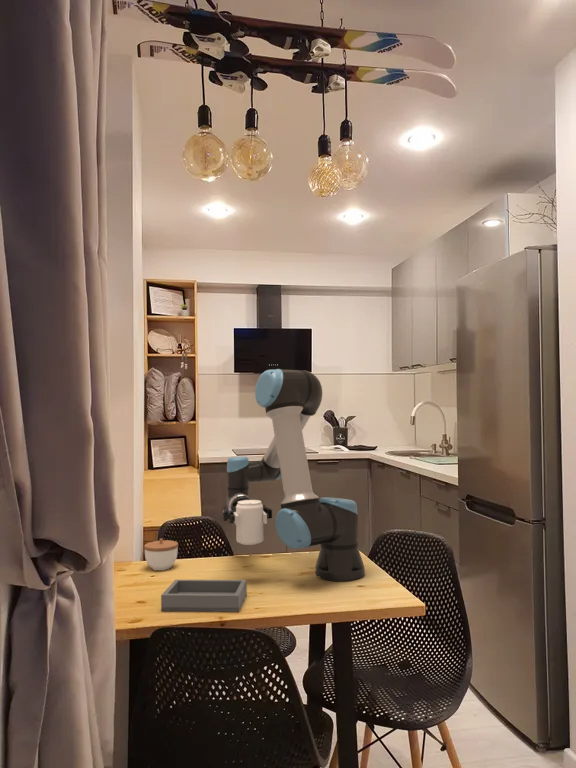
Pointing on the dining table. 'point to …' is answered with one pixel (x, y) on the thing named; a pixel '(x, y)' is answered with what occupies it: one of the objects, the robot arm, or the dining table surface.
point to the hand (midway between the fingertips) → (251, 520)
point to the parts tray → (204, 595)
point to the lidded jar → (161, 554)
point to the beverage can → (249, 522)
